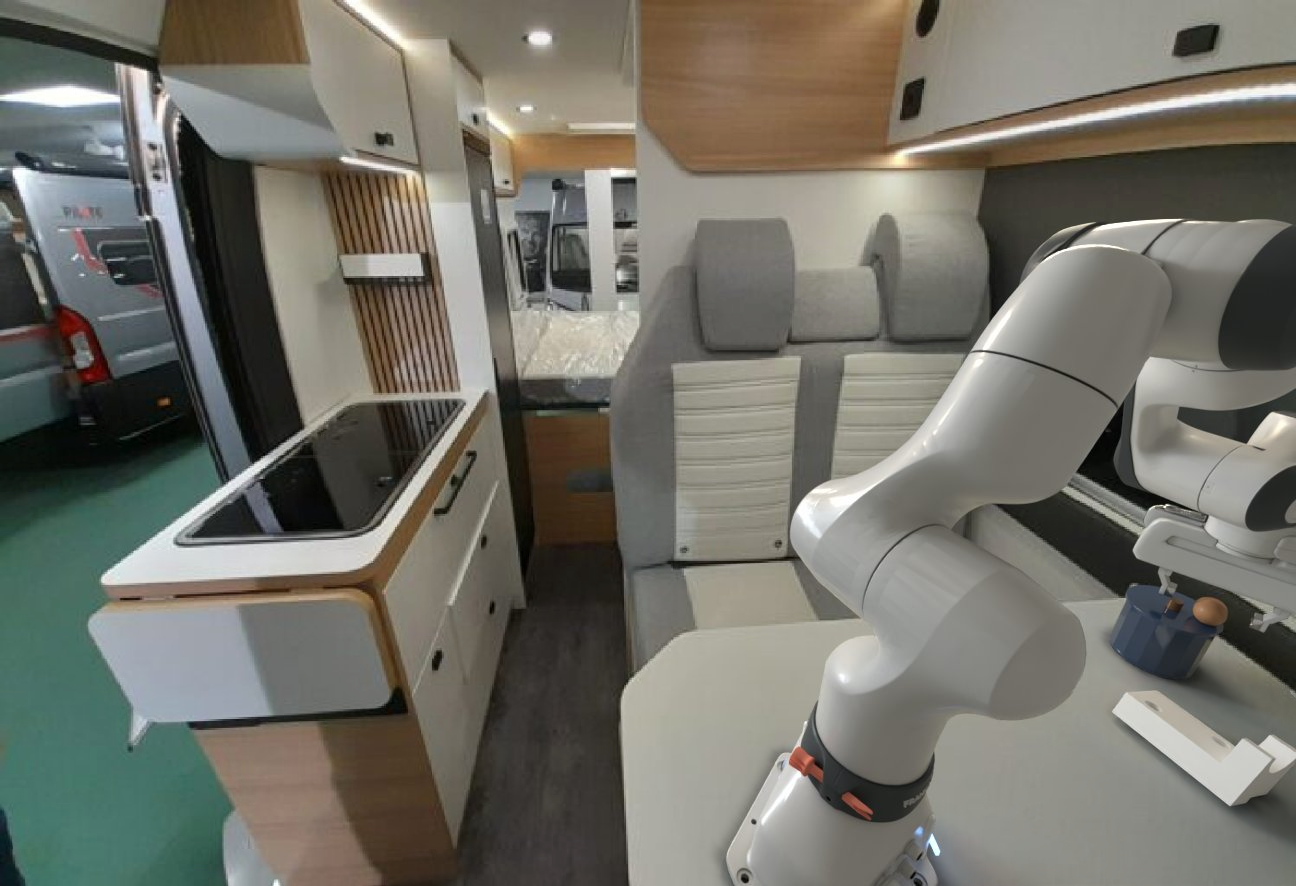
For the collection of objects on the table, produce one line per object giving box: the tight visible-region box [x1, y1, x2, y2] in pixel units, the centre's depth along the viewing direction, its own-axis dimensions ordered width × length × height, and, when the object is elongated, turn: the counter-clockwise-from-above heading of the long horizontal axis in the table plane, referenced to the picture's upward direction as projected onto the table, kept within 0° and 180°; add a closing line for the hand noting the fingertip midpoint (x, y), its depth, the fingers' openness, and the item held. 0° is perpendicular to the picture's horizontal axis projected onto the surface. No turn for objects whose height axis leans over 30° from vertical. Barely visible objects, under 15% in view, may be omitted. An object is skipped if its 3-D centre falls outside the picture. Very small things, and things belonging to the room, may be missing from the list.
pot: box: [1108, 598, 1216, 680], centre depth 82 cm, size 10×10×8 cm
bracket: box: [1111, 689, 1296, 807], centre depth 67 cm, size 13×7×8 cm, turn 16°
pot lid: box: [1125, 584, 1224, 637], centre depth 80 cm, size 11×11×3 cm
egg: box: [1193, 596, 1229, 626], centre depth 77 cm, size 5×3×3 cm
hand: (1208, 610), depth 77 cm, fingers open, 8 cm apart
